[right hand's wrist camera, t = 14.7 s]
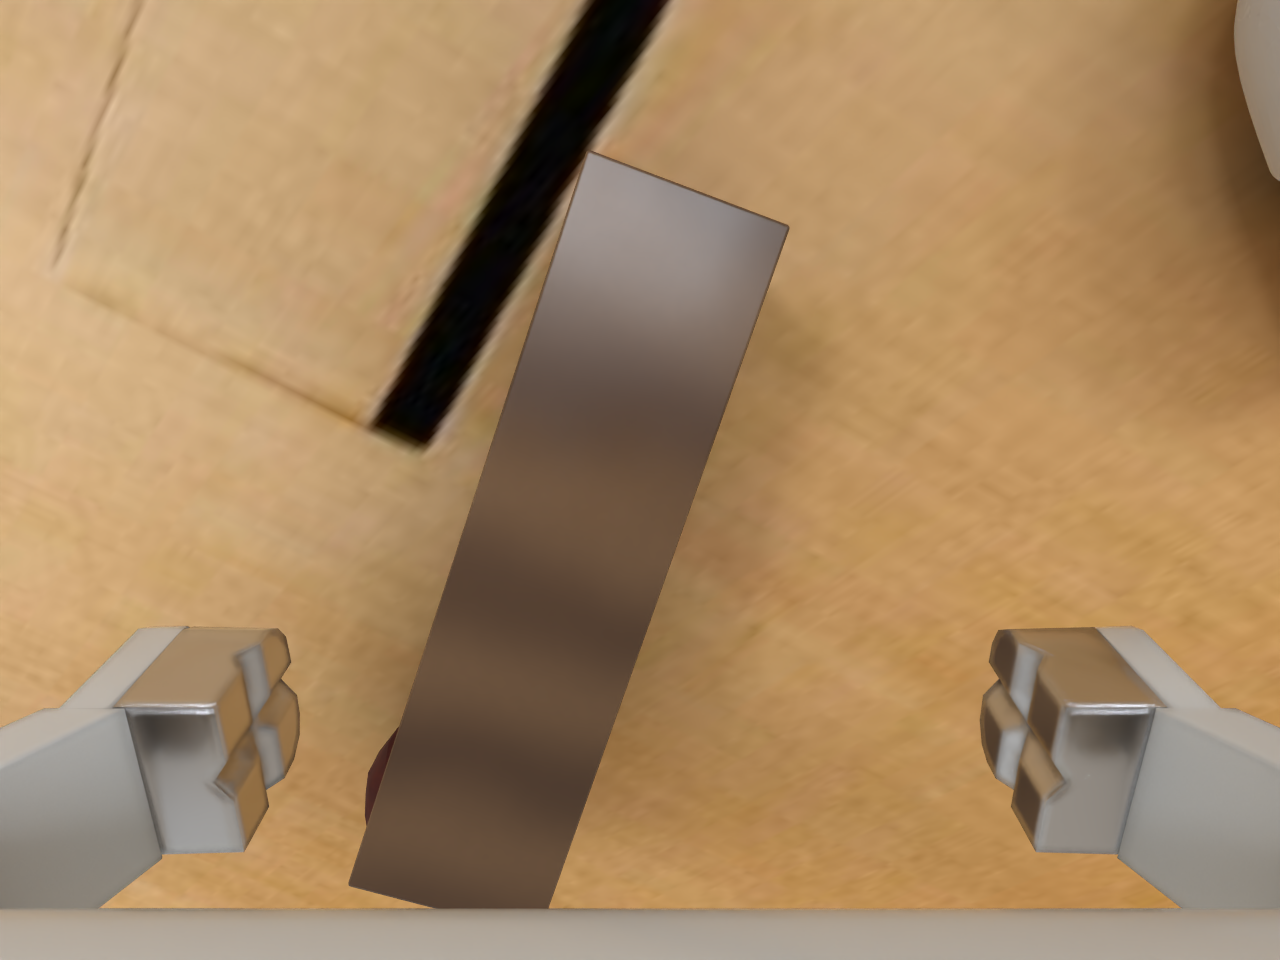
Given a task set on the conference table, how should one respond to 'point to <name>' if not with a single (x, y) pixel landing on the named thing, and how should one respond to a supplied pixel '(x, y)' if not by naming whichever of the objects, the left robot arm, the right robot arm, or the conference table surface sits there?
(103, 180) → the conference table surface
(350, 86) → the conference table surface
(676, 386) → the box
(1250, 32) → the white rounded slotted housing
